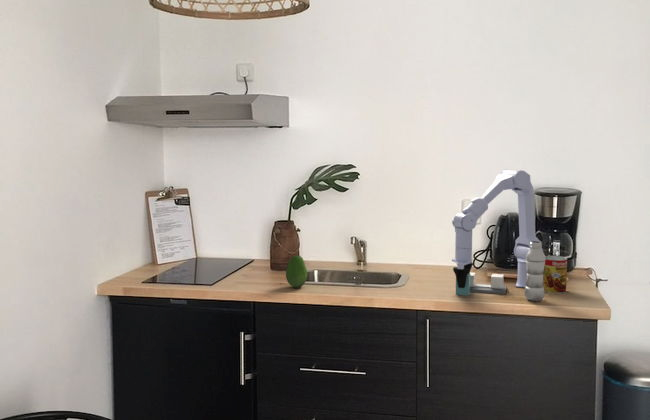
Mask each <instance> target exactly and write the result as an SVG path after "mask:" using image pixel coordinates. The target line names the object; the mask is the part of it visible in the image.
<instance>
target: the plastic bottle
mask: <svg viewBox="0 0 650 420" xmlns="http://www.w3.org/2000/svg"><path fill="white" fill-rule="evenodd" d="M542 243H543V242H542V241H541V240H539V241H531V242H530V247H531V249H530V250H529V252H528V253H527V255H526V266H527V280H526V286H525V287H524V297H525V299H526V300H528V301H532V302H540V301H543V300H544V298H545V294H546V292H545V291H544V285H543V273H544V266H545V260H546V258H545V256H546V255H545V253H544V250H543V251H542V250H541V248H542V247H543V246H542V245H543V244H542ZM542 249H543V248H542Z"/></svg>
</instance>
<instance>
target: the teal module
mask: <svg viewBox="0 0 650 420" xmlns="http://www.w3.org/2000/svg"><path fill="white" fill-rule="evenodd" d="M470 275H471V274H469V273H468V275H467V279H466V284H465V288H458V284H457V278H456V277H455V295H456V296H468V297H469V296H470V293H471V292H470Z"/></svg>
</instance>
